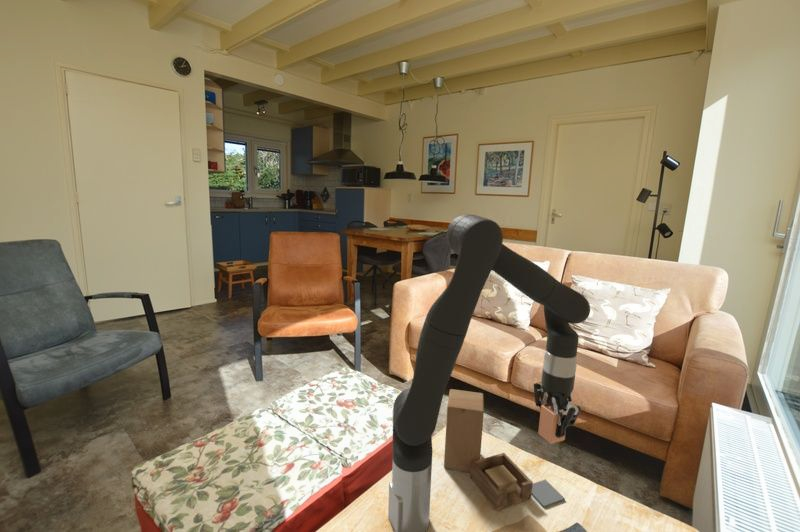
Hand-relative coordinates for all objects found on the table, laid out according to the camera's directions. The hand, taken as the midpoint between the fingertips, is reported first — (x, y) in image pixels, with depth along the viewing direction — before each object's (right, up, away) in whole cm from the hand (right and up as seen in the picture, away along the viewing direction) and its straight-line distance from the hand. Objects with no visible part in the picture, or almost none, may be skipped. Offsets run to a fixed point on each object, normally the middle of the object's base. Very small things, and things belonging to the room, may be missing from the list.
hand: (551, 430), depth 97 cm
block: (0, -2, 0) cm, 2 cm away
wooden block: (-21, -16, +16) cm, 30 cm away
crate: (-12, -18, +6) cm, 22 cm away
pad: (0, -19, +4) cm, 19 cm away
